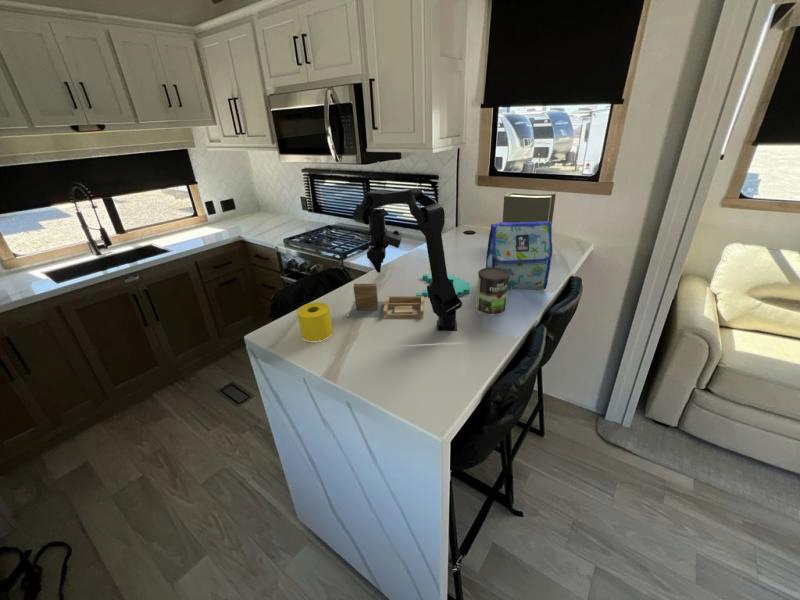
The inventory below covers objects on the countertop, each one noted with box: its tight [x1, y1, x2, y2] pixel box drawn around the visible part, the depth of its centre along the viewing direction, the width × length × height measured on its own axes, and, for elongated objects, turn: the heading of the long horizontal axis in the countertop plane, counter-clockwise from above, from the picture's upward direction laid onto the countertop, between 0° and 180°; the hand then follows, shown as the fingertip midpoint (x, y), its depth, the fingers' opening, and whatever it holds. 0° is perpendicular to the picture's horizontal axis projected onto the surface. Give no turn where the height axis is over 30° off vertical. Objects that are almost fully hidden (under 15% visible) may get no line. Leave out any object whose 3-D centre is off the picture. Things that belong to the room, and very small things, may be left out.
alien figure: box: [415, 273, 471, 297], centre depth 143 cm, size 20×2×20 cm
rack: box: [382, 295, 425, 319], centre depth 128 cm, size 11×14×3 cm
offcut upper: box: [393, 306, 413, 314], centre depth 127 cm, size 4×6×1 cm, turn 90°
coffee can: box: [475, 267, 509, 317], centre depth 124 cm, size 10×10×14 cm
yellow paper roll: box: [296, 301, 334, 341], centre depth 115 cm, size 10×10×9 cm
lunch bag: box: [485, 221, 553, 291], centre depth 136 cm, size 22×17×26 cm
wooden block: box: [353, 283, 379, 310], centre depth 128 cm, size 2×8×10 cm, turn 85°
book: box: [502, 192, 557, 226], centre depth 170 cm, size 22×9×28 cm, turn 54°
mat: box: [347, 300, 386, 319], centre depth 130 cm, size 12×12×1 cm
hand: (380, 267), depth 133 cm, fingers open, 9 cm apart
